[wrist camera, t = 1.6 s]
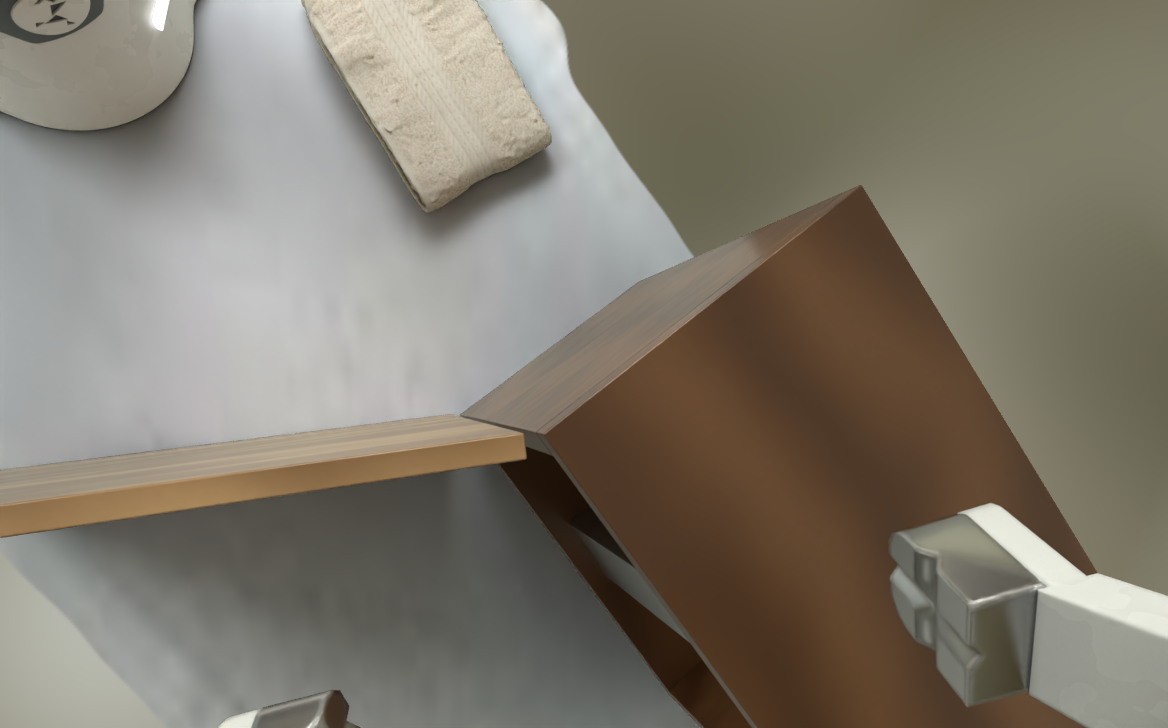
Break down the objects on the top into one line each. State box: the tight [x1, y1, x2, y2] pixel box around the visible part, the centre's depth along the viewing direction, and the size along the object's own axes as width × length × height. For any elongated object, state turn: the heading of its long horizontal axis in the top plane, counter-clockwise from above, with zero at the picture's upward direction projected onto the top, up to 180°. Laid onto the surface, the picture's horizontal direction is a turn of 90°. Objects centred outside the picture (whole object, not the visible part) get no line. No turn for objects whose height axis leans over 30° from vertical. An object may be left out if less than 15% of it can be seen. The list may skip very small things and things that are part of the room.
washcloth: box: [301, 0, 552, 213], centre depth 49 cm, size 12×18×3 cm, turn 34°
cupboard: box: [461, 185, 1097, 728], centre depth 42 cm, size 18×28×26 cm, turn 37°
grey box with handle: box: [569, 506, 689, 642], centre depth 44 cm, size 6×9×17 cm, turn 127°
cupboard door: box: [0, 414, 527, 538], centre depth 33 cm, size 7×28×26 cm, turn 97°
